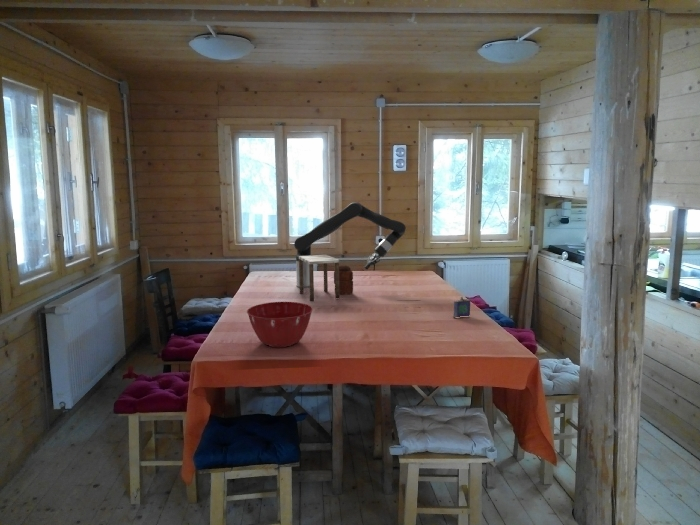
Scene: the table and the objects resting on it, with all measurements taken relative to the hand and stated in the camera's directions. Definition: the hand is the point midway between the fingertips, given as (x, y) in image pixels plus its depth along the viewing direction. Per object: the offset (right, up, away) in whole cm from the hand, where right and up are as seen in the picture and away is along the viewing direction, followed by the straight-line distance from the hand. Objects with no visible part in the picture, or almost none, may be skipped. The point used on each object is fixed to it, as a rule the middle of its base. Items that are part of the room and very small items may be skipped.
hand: (365, 268), depth 345 cm
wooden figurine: (-14, -16, -3) cm, 21 cm away
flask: (+48, -25, -62) cm, 82 cm away
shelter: (-29, -17, -9) cm, 34 cm away
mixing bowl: (-40, -32, -103) cm, 115 cm away
